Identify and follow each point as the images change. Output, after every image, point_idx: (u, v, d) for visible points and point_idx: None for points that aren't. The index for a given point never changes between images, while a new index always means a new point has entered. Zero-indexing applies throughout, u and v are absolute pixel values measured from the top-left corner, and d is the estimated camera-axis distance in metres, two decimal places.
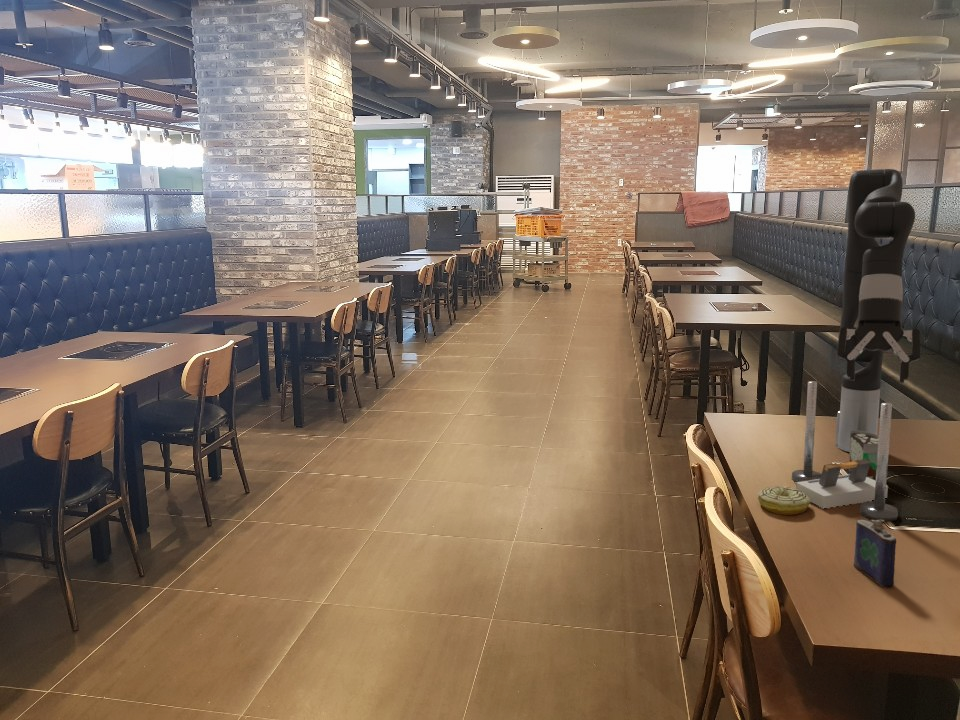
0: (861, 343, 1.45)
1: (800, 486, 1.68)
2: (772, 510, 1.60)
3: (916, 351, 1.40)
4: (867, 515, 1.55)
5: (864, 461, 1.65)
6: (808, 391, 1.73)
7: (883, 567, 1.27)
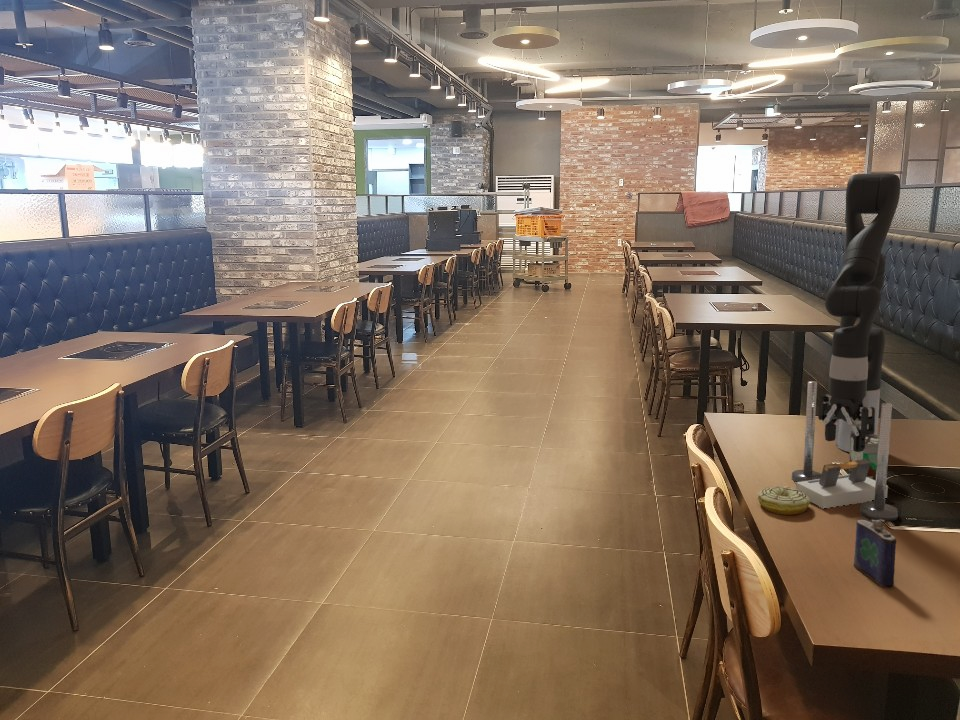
0: (829, 412, 1.66)
1: (800, 486, 1.68)
2: (772, 510, 1.60)
3: (863, 428, 1.57)
4: (867, 515, 1.55)
5: (864, 461, 1.65)
6: (808, 391, 1.73)
7: (883, 567, 1.27)
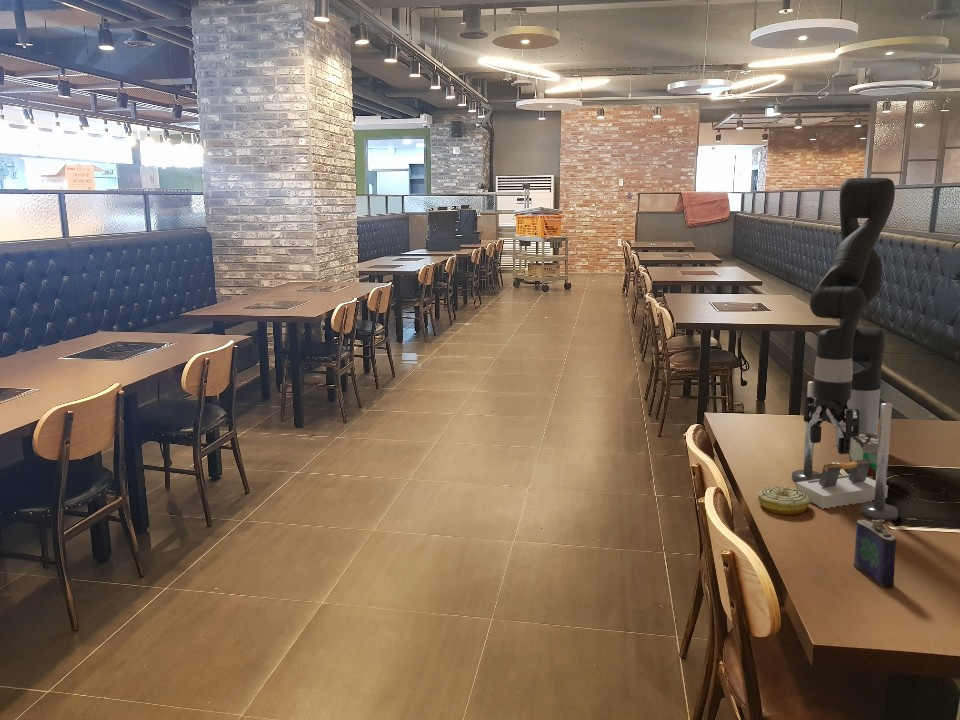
0: (815, 414, 1.65)
1: (800, 486, 1.68)
2: (772, 510, 1.60)
3: (847, 430, 1.56)
4: (867, 515, 1.55)
5: (864, 461, 1.65)
6: (808, 391, 1.73)
7: (883, 567, 1.27)
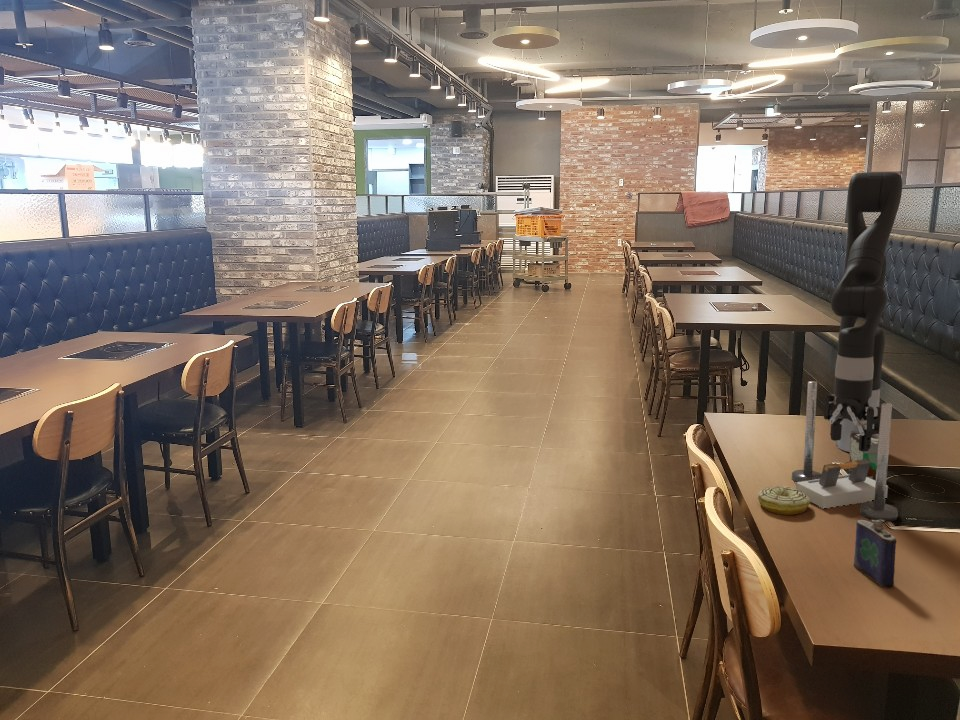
0: (835, 412, 1.67)
1: (800, 486, 1.68)
2: (772, 510, 1.60)
3: (868, 428, 1.58)
4: (867, 515, 1.55)
5: (864, 461, 1.65)
6: (808, 391, 1.73)
7: (883, 567, 1.27)
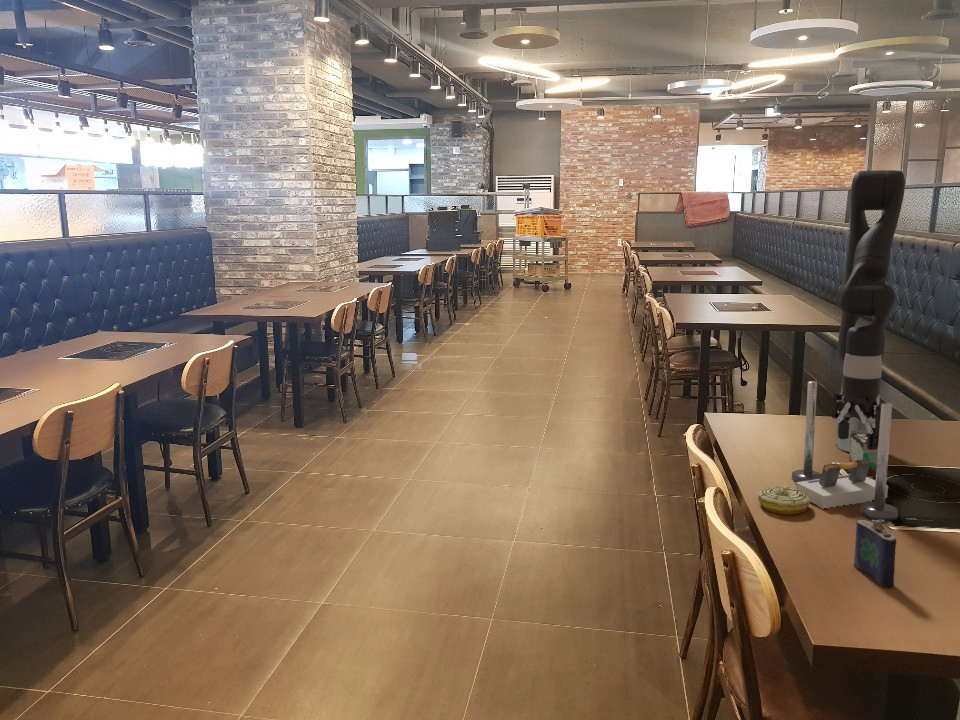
0: (843, 410, 1.67)
1: (800, 486, 1.68)
2: (772, 510, 1.60)
3: (877, 426, 1.58)
4: (867, 515, 1.55)
5: (864, 461, 1.65)
6: (808, 391, 1.73)
7: (883, 567, 1.27)
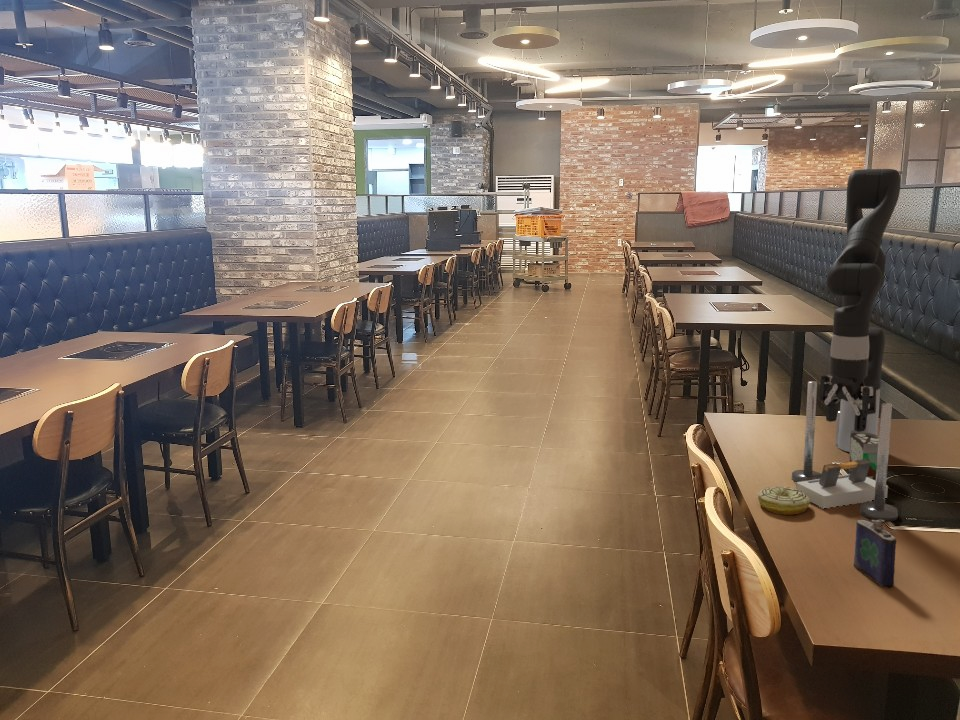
0: (830, 392, 1.65)
1: (800, 486, 1.68)
2: (772, 510, 1.60)
3: (864, 408, 1.57)
4: (867, 515, 1.55)
5: (864, 461, 1.65)
6: (808, 391, 1.73)
7: (883, 567, 1.27)
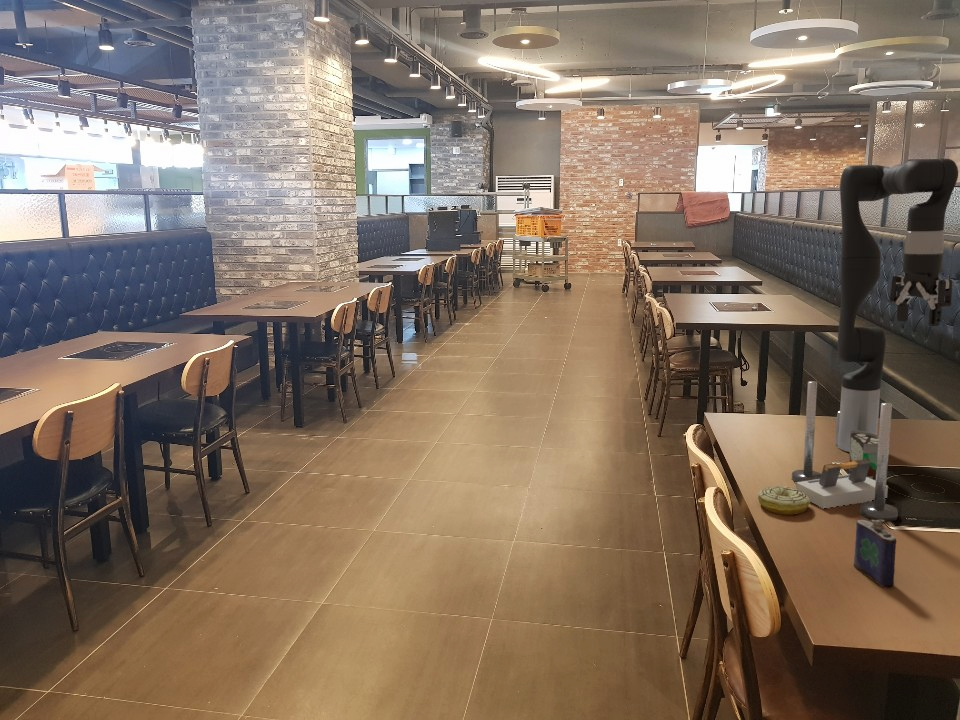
0: (903, 291, 1.68)
1: (800, 486, 1.68)
2: (772, 510, 1.60)
3: (940, 300, 1.59)
4: (867, 515, 1.55)
5: (864, 461, 1.65)
6: (808, 391, 1.73)
7: (883, 567, 1.27)
